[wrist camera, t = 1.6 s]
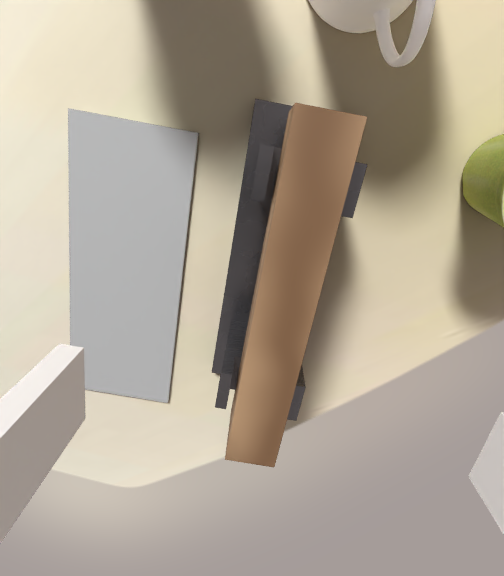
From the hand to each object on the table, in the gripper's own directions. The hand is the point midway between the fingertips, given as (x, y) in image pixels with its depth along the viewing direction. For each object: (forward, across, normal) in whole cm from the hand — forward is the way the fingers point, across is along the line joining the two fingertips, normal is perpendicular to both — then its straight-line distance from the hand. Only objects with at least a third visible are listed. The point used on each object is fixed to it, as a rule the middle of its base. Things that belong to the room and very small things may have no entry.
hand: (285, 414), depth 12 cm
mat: (+21, -13, -5) cm, 25 cm away
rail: (+14, 0, -1) cm, 14 cm away
